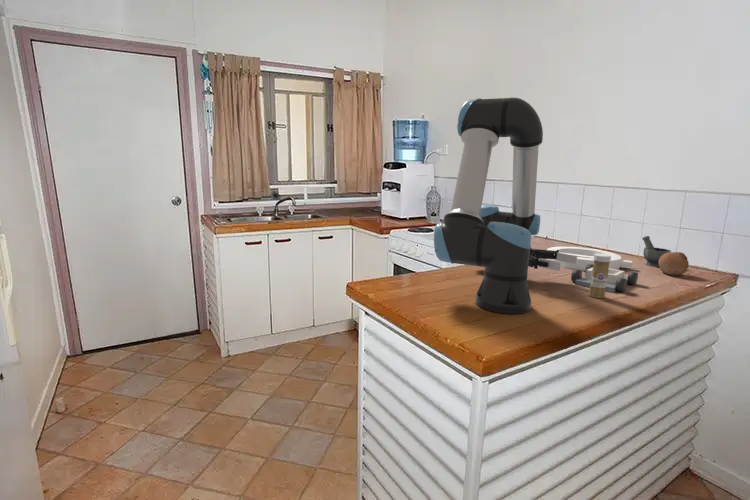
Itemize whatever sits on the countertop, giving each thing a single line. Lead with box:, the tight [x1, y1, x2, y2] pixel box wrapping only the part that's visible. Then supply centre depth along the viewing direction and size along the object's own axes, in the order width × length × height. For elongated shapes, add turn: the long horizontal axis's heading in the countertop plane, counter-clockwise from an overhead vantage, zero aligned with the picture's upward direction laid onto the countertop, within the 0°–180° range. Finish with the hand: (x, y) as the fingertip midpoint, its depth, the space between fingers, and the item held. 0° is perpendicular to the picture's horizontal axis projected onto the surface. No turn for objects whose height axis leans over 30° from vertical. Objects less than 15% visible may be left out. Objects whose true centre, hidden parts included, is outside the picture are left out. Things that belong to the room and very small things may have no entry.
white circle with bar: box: [546, 246, 633, 272], centre depth 175 cm, size 28×28×5 cm
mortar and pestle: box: [641, 235, 672, 268], centre depth 175 cm, size 11×9×12 cm
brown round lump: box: [658, 251, 690, 277], centre depth 160 cm, size 10×9×10 cm
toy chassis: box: [570, 264, 639, 293], centre depth 145 cm, size 20×16×4 cm
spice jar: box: [588, 253, 611, 299], centre depth 129 cm, size 5×5×13 cm
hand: (568, 263), depth 135 cm, fingers open, 13 cm apart
